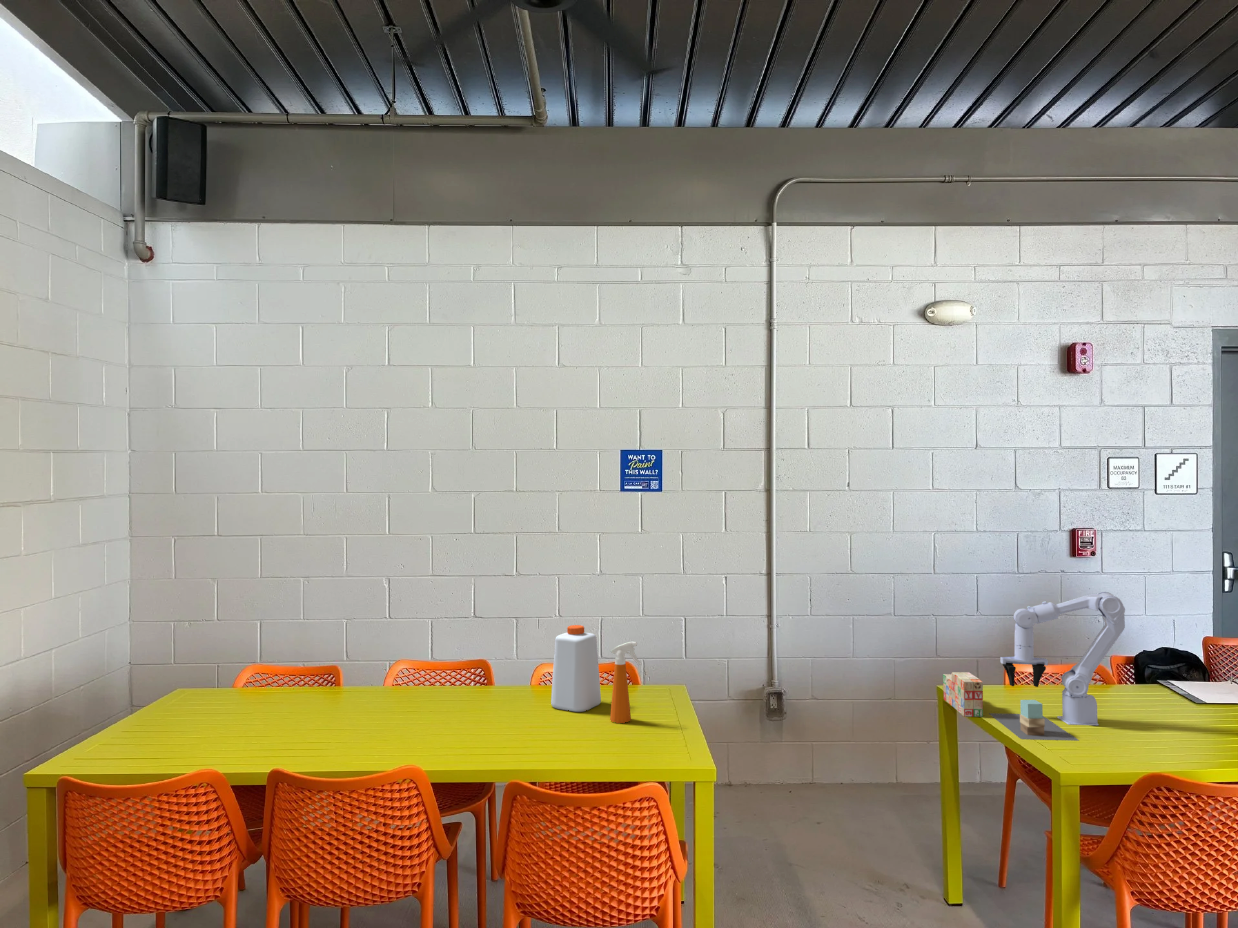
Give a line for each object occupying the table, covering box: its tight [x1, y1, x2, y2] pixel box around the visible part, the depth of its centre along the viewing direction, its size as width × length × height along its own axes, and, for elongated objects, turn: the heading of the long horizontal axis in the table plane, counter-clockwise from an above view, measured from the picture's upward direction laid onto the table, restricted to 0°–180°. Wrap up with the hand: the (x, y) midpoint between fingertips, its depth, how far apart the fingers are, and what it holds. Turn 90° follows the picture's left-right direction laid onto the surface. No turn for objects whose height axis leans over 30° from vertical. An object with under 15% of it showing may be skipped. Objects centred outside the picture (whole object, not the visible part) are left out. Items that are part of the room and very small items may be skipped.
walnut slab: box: [1021, 723, 1044, 735], centre depth 245 cm, size 5×5×2 cm
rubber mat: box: [988, 712, 1080, 742], centre depth 251 cm, size 17×26×1 cm, turn 175°
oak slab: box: [1019, 713, 1045, 727], centre depth 245 cm, size 5×5×2 cm
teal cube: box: [1020, 699, 1044, 719], centre depth 245 cm, size 4×4×4 cm
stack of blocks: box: [942, 671, 984, 718], centre depth 272 cm, size 21×6×12 cm, turn 175°
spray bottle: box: [609, 641, 642, 724], centre depth 260 cm, size 7×11×26 cm, turn 78°
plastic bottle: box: [550, 624, 602, 713], centre depth 278 cm, size 15×15×28 cm
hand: (1023, 685), depth 262 cm, fingers open, 7 cm apart
